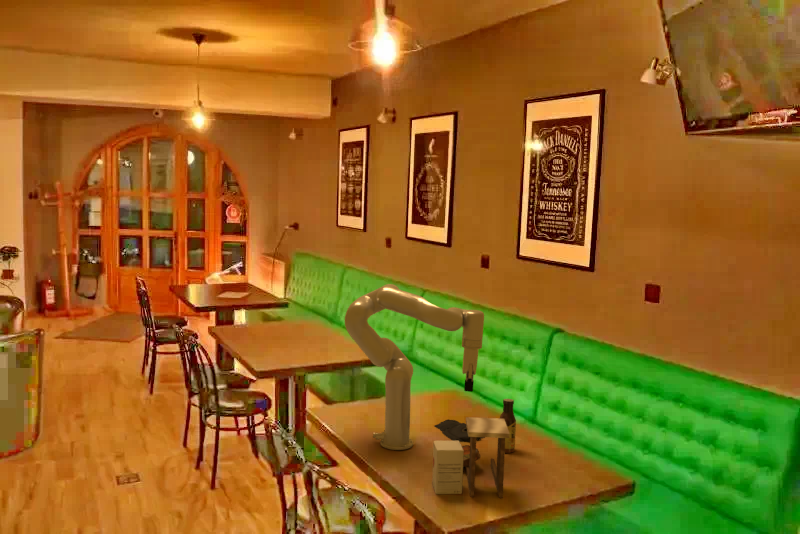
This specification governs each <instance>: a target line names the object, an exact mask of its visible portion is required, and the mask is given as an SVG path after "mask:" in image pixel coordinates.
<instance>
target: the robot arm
mask: <svg viewBox="0 0 800 534" xmlns="http://www.w3.org/2000/svg"><path fill="white" fill-rule="evenodd" d="M383 310H387V311H392V312H395V313H398V314H401V315H405V316H408V317H410V318H414V319H415V320H418V321H420V322H422V323H425V324H426V325H429V326H432V327H435V328H437V329H441V330H444V331H448V332H456V331H459V330H460V329H461V328H462V337H461V347H462V348H463V357H462V371H461V372H462V374H463V375H464V374H465V379H464V388H463V390H464V392H469V393H472V392H473V391H474V384H475V383H474V376H475V375H476V373H477V367H478V366H477V365H478V359H479V350H481V349H482V347H483V336H484V335H483V334H484V325H485V323H484V322H485V321H484V320H485V314H484V312H483V311H482V310H479V309H465V308H464V309H463V308H460V307H456V306H455V307H453V306H452V307H448V308H444V307H440V306H438V305H436V304H433V303H431V302H429V301H428V300H427V299H426V298H425V297H423V296H421V295H419V294H415V293H413V292H408V291H406V290H402V289H400V288H399V287H398V286H397V285H395V284H393V283H387V284H384V285H382V286H381V287H378V288H376V289H375V290H372V291H370V292H368V293H365V294H364V295H361V296H359V297H357V298H356V299H355V300H354V301H352V303H350V305H348V308H347V310H346V313H345V316H344V327H345V329H346V331H347V334H348V335H349V336H350V337H351V339H352V340H353V341H354V342H355V344H356V345H357V346H358V347H359V348H360V349H361V351H362V352H363V354H364V355H365V356H366V357H367V358H368V359H369V361H370V362H371V363H372V365H374V366H376V367H379V368H384V369H385V370H386V374H385V377H384V378H385V379H384V381H385V382H384V383H385V387H384V390H385V411H384V414H385V415H384V430H383V431H381V432H372V438H375V440H380V446H381V447H383V448H385V449H388V450H392V451H394V450H395V451H405V450H407V449H411V448H412V447H413V446H414V440H413V439H411V438H410V430H411V427H410V425H411V396H412V395H411V386H412V385H411V383H412V378H413V374H414V367H413V364H412V363H411V361H410V360H409V358H408V357H407V356H406V355H405V354H404V352H402V350H401V349H400V347H398V346H397V344H396V343H394V341H393V340H391V339H390V338H387V337H381V336H380V335H379V334H378V333H377V331H376V330H375V329H374V327H372V326H371V325H370V324H369V322H368V320H369V318H370V317H371V316H373V315H375V314H377V313H380V312H381V311H383Z"/></svg>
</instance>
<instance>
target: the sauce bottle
mask: <svg viewBox="0 0 800 534" xmlns="http://www.w3.org/2000/svg"><path fill="white" fill-rule="evenodd" d="M514 403H515V400H514V399H512V398H503V399H502V404H503V406H502V407H503V408H502V413H501V414H500V416H499V418H500V419H504V420H505V422H506V425H507V428H508V431H509V433H510V437H509V438H505V454H510V453H512V454H513V453H514V452H515V448H516V432H517V431H516V428H517V420H516V416H515V413H514V405H515V404H514Z"/></svg>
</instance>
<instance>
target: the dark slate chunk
mask: <svg viewBox="0 0 800 534" xmlns="http://www.w3.org/2000/svg"><path fill="white" fill-rule="evenodd" d="M433 427H435V428H436V429H438V430H439V431H440V432H441V433H442V434H443V435H444V436H445V437H446V438H448V439H450V441H459V442H460V443H464V442H467V443H470V437H469V436H468V431H467V426H466V422H459V421H458V420H455V419H445V420H443V421H441V422H439V423H437V424H434V425H433ZM485 438H486V437H476V442H477V441H481V440H482V439H485Z"/></svg>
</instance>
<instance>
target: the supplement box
mask: <svg viewBox="0 0 800 534" xmlns="http://www.w3.org/2000/svg"><path fill="white" fill-rule="evenodd" d="M462 446H463V445H462V444H461V442H459V441H452V440H433V450H432V475H431V476H432V480H431V481H432V482H431V483H432V486H433V490H434V493H435V495H455V494H456V495H458V494H459V495H462V494H463V477H464V476H463V474H464V472H463V471H464V467H463V456H464V450H463V448H462Z"/></svg>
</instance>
